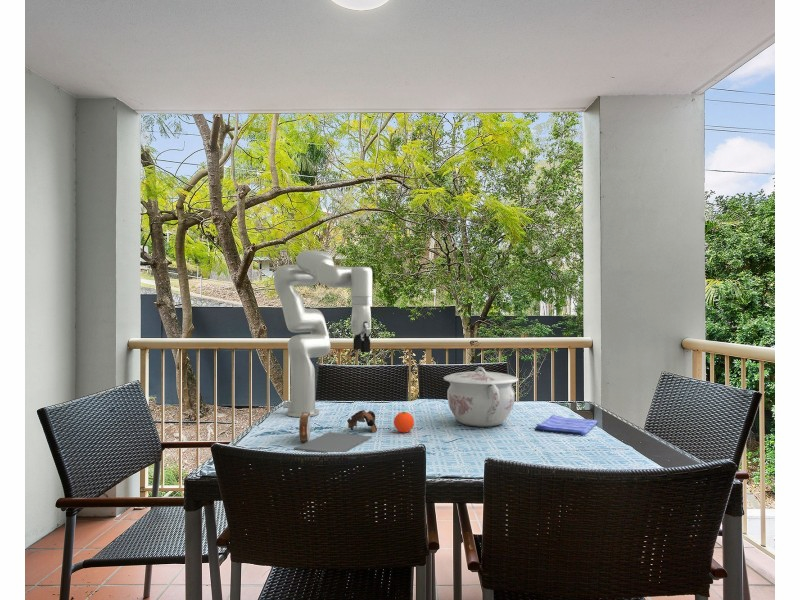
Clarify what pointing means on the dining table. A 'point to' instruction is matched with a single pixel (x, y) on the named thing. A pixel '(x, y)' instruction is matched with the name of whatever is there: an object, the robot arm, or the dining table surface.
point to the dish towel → (566, 425)
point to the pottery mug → (360, 417)
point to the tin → (304, 427)
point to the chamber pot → (481, 397)
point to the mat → (333, 442)
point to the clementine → (403, 422)
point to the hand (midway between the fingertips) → (361, 350)
